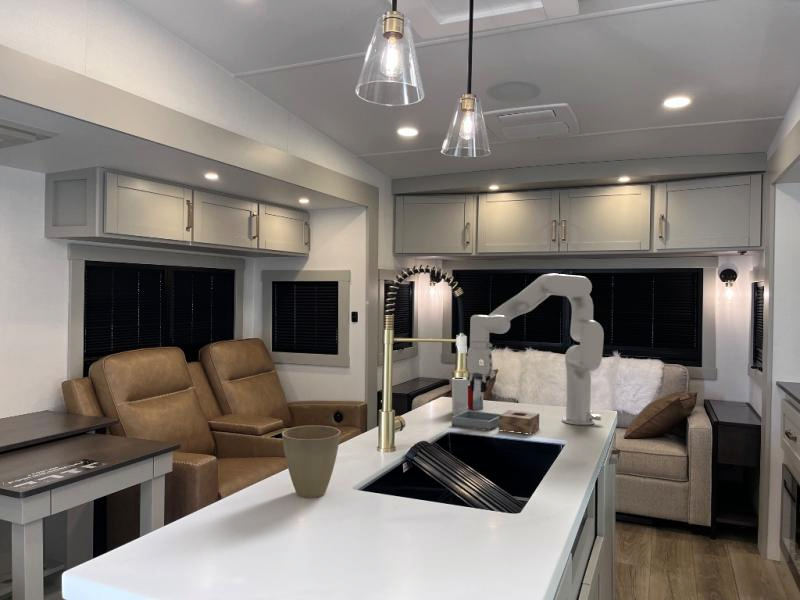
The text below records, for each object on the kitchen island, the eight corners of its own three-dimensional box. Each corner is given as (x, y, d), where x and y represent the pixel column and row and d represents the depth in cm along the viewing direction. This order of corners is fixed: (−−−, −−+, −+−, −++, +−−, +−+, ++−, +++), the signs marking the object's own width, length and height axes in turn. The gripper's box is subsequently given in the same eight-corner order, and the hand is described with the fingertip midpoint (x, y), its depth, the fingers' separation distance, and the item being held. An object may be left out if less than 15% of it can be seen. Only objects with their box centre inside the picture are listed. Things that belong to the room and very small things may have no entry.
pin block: (539, 428, 229) (539, 413, 229) (529, 434, 219) (529, 418, 219) (509, 425, 235) (509, 410, 235) (499, 430, 225) (499, 415, 225)
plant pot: (276, 487, 156) (277, 427, 155) (331, 481, 161) (332, 423, 161) (286, 506, 142) (287, 440, 142) (346, 499, 147) (347, 436, 147)
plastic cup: (476, 412, 261) (476, 385, 260) (458, 408, 269) (458, 382, 269) (491, 409, 268) (492, 382, 268) (474, 405, 276) (474, 380, 276)
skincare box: (468, 416, 252) (468, 379, 251) (452, 415, 252) (453, 379, 252) (466, 412, 260) (466, 377, 260) (451, 411, 260) (451, 376, 260)
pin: (485, 408, 236) (486, 372, 236) (481, 410, 232) (482, 373, 232) (474, 407, 238) (475, 371, 238) (470, 409, 234) (470, 372, 234)
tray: (504, 423, 238) (504, 414, 238) (489, 430, 224) (489, 421, 224) (467, 418, 246) (468, 410, 246) (451, 425, 232) (451, 416, 232)
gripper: (502, 346, 234) (501, 392, 234) (464, 344, 242) (463, 388, 243) (495, 347, 228) (494, 394, 228) (456, 345, 236) (455, 390, 236)
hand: (478, 390), depth 235 cm, fingers closed on pin, 4 cm apart
